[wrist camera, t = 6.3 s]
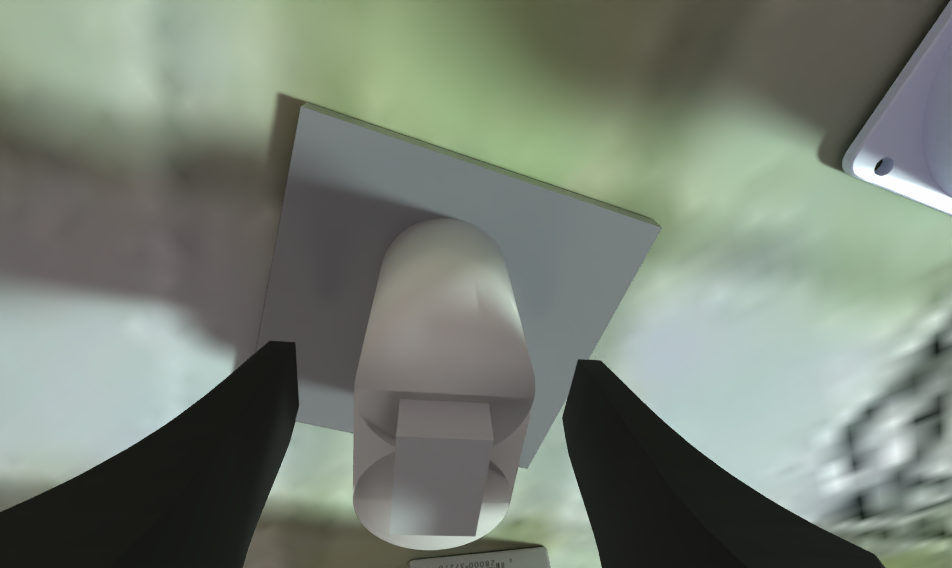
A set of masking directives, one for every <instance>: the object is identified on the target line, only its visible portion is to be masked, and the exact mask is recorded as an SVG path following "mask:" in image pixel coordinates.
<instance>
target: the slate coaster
mask: <svg viewBox="0 0 952 568" xmlns="http://www.w3.org/2000/svg"><path fill="white" fill-rule="evenodd" d="M436 218H452V219H458V220H462V221H466V222H468V223H471V224H473V225H475V226H477V227H479V228H480V229H482V230H483V231H485V232H486V233H487V234H488V235H489V236H490V237H491V238H492V239H493V240H494V241H495V242H496V244H497V245H498V246H499V248H500V250H501V252H502V254H503V257H504V260H505V263H506V267H507V271H508V275H509V279H510V282H511V286H512V290H513V294H514V298H515V302H516V306H517V309H518V313H519V317H520V321H521V325H522V329H523V333H524V336H525V340H526V344H527V348H528V352H529V356H530V360H531V364H532V367H533V371H534V377H535V395H534V401H533V405H532V409H531V414H530V418H529V422H528V427H527V431H526V435H525V440H524V444H523V449H522V453H521V457H520V462H519V466H518V467H521V468H526V469H527V468H528V467H529V465H530V463H531V461H532V459H533V458H534V456H535V454H536V452H537V450H538V449H539V447H540V445H541V443H542V442H543V440H544V438H545V436H546V434H547V433H548V431H549V429H550V427H551V425H552V424H553V422H554V420H555V418H556V416H557V415H558V413H559V411H560V409H561V408H562V406H563V404H564V402H565V400H566V399H567V397H568V395H569V391H570V387H571V383H572V380H573V376H574V372H575V368H576V365H577V361H578V359H583V360H588V359H589V357H590V356H591V354H592V352H593V350H594V348H595V347H596V345H597V343H598V341H599V340H600V338H601V336H602V334H603V332H604V331H605V329H606V327H607V325H608V323H609V322H610V320H611V318H612V316H613V314H614V313H615V311H616V309H617V307H618V306H619V304H620V302H621V300H622V298H623V297H624V295H625V293H626V291H627V289H628V288H629V286H630V284H631V282H632V280H633V279H634V277H635V275H636V273H637V272H638V270H639V268H640V266H641V264H642V263H643V261H644V259H645V257H646V255H647V254H648V252H649V250H650V248H651V246H652V245H653V243H654V241H655V239H656V238H657V236H658V234H659V232H660V230H661V229H662V227H661V226H660V225H659V224H658V223H657V222H656V221H655V220H653V219H650V218H647V217H644V216H641V215H638V214H635V213H632V212H629V211H626V210H623V209H620V208H617V207H614V206H611V205H608V204H605V203H603V202H600V201H597V200H594V199H591V198H588V197H585V196H582V195H579V194H576V193H573V192H570V191H567V190H564V189H561V188H558V187H555V186H552V185H549V184H546V183H543V182H540V181H538V180H535V179H532V178H529V177H526V176H523V175H520V174H517V173H514V172H511V171H508V170H505V169H502V168H499V167H496V166H493V165H490V164H487V163H484V162H481V161H478V160H475V159H472V158H470V157H467V156H464V155H461V154H458V153H455V152H452V151H449V150H446V149H443V148H440V147H437V146H434V145H431V144H428V143H425V142H422V141H419V140H416V139H413V138H410V137H407V136H405V135H402V134H399V133H396V132H393V131H390V130H387V129H384V128H381V127H378V126H375V125H372V124H369V123H366V122H363V121H360V120H357V119H354V118H351V117H348V116H345V115H342V114H340V113H337V112H334V111H331V110H328V109H325V108H322V107H319V106H316V105H313V104H310V103H307V102H306V103H305V104H304V105H302V106H301V108H300V113H299V119H298V124H297V130H296V135H295V141H294V146H293V151H292V157H291V162H290V168H289V173H288V179H287V184H286V189H285V195H284V200H283V206H282V211H281V217H280V222H279V227H278V233H277V238H276V244H275V249H274V255H273V260H272V266H271V271H270V276H269V282H268V287H267V293H266V298H265V304H264V309H263V314H262V320H261V325H260V331H259V336H258V342H257V347H256V352H257V351H258V350H259V349H260V348H262V347H263V346H264V345H265V344H266V343H268V342H269V341H283V342H295V345H296V361H297V377H298V394H299V409H298V413H297V417H296V421H295V422H300V423H305V424H310V425H315V426H320V427H325V428H330V429H334V430H339V431H344V432H349V433H354V385H355V377H356V373H357V369H358V364H359V360H360V356H361V351H362V347H363V343H364V338H365V334H366V330H367V326H368V321H369V317H370V313H371V308H372V304H373V300H374V295H375V291H376V287H377V282H378V278H379V274H380V269H381V265H382V261H383V258H384V255H385V253H386V251H387V249H388V247H389V246H390V244H391V243H392V242H393V240H394V239H395V238H396V237H397V236H398V235H399V234H400V233H401V232H403V231H404V230H406V229H407V228H409V227H411V226H412V225H414V224H416V223H419V222H422V221H425V220H430V219H436ZM256 352H255V353H256Z"/></svg>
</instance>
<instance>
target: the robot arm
mask: <svg viewBox="0 0 952 568" xmlns="http://www.w3.org/2000/svg"><path fill="white" fill-rule="evenodd" d="M881 159H883V162H882V164H881V166H880V167H879V168H878V169H877V170H875V171H874V168H875V166H876V164H877V163H878V162H879V161H880V160H881ZM842 167H843V170H844V172H846V173H847V174H848V175H851V176H853V177H856V178H858V179H861V180H863V181H866V182H868V183H871V184H873V185H876V186H878V187H881V188H883V189H886V190H888V191H891V192H893V193H896V194H898V195H901V196H903V197H906V198H908V199H911V200H913V201H916V202H918V203H921V204H923V205H926V206H928V207H931V208H933V209H936V210H938V211H941V212H943V213H946V214H949V215H951V216H952V0H950V2H949V3H948V5H947V6H946V7H945V9H944V10H943V12H942V13H941V15H940V16H939V18H938V19H937V21H936V22H935V23H934V25H933V26H932V28H931V29H930V31H929V32H928V34H927V35H926V37H925V38H924V39H923V41H922V42H921V44H920V45H919V47H918V48H917V50H916V51H915V53H914V54H913V55H912V57H911V58H910V60H909V61H908V63H907V64H906V66H905V67H904V69H903V70H902V71H901V73H900V74H899V76H898V77H897V79H896V80H895V82H894V83H893V85H892V86H891V87H890V89H889V90H888V92H887V93H886V95H885V96H884V98H883V99H882V101H881V102H880V103H879V105H878V106H877V108H876V109H875V111H874V112H873V114H872V115H871V117H870V118H869V119H868V121H867V122H866V124H865V125H864V127H863V128H862V130H861V131H860V133H859V134H858V135H857V137H856V138H855V140H854V141H853V143H852V144H851V146H850V147H849V149H848V150H847V151H846V153H845V155H844V157H843V161H842ZM298 409H299V394H298V377H297V361H296V345H295V342H283V341H269V342H268V343H266V344H265V345H264V346H263V347H262V348H260V349H259V350H258V351H257V352H256V353H255V354H254V355H252V356H251V357H250V358H249V359H248V360H247V361H246V362H244V363H243V364H242V365H241V366H240V367H239V368H238V369H236V370H235V371H234V372H233V373H232V374H231V375H229V376H228V377H227V378H226V379H225V380H223V381H222V382H221V383H220V384H219V385H217V386H216V387H215V388H214V389H212V390H211V391H210V392H209V393H208V394H206V395H205V396H204V397H203V398H201V399H200V400H199V401H197V402H196V403H195V404H193V405H192V406H191V407H189V408H188V409H187V410H185V411H184V412H183V413H181V414H180V415H179V416H177V417H176V418H174V419H173V420H172V421H170V422H169V423H167V424H166V425H164V426H163V427H161V428H160V429H158V430H157V431H155V432H154V433H152V434H150V435H149V436H147V437H146V438H144V439H142V440H141V441H139V442H138V443H136V444H134V445H133V446H131V447H129V448H128V449H126V450H124V451H122V452H121V453H119V454H117V455H115V456H113V457H112V458H110V459H108V460H106V461H104V462H103V463H101V464H99V465H97V466H95V467H93V468H92V469H90V470H88V471H86V472H84V473H83V474H81V475H79V476H77V477H75V478H73V479H71V480H69V481H67V482H65V483H63V484H61V485H59V486H57V487H55V488H52V489H50V490H48V491H46V492H44V493H42V494H40V495H37V496H35V497H33V498H31V499H29V500H27V501H25V502H22V503H20V504H18V505H15V506H13V507H11V508H9V509H6V510H4V511H2V512H0V568H243V565H244V561H245V558H246V554H247V551H248V548H249V544H250V542H251V539H252V536H253V533H254V530H255V528H256V525H257V522H258V520H259V518H260V515H261V513H262V510H263V508H264V505H265V503H266V500H267V498H268V495H269V493H270V490H271V488H272V486H273V483H274V481H275V478H276V476H277V473H278V471H279V468H280V466H281V463H282V461H283V458H284V456H285V453H286V451H287V448H288V445H289V443H290V439H291V436H292V432H293V428H294V425H295V421H296V417H297V413H298ZM562 419H563V425H564V431H565V438H566V443H567V448H568V453H569V457H570V460H571V463H572V467H573V470H574V473H575V476H576V479H577V483H578V486H579V489H580V492H581V495H582V498H583V501H584V505H585V508H586V511H587V514H588V517H589V520H590V523H591V527H592V530H593V533H594V536H595V540H596V544H597V547H598V551H599V556H600V561H601V565H602V568H885V567H884V565H883V564H882V563H881V562H880V560H879V559H878V558H877V557H876V556H875V554H873V553H871V552H869V551H867V550H865V549H862V548H860V547H858V546H856V545H854V544H852V543H850V542H848V541H846V540H844V539H842V538H840V537H838V536H836V535H834V534H832V533H830V532H828V531H826V530H823V529H821V528H820V527H818V526H816V525H814V524H812V523H810V522H808V521H807V520H805V519H803V518H801V517H799V516H798V515H796V514H794V513H792V512H790V511H789V510H787V509H785V508H783V507H782V506H780V505H778V504H776V503H775V502H773V501H771V500H770V499H768V498H766V497H765V496H763V495H762V494H760V493H758V492H757V491H755V490H754V489H752V488H751V487H749V486H748V485H746V484H745V483H743V482H741V481H740V480H738V479H737V478H735V477H734V476H732V475H731V474H730V473H728V472H727V471H725V470H724V469H722V468H721V467H720V466H718V465H717V464H716V463H714V462H713V461H712V460H710V459H709V458H708V457H706V456H705V455H704V454H702V453H701V452H700V451H698V450H697V449H696V448H694V447H693V446H692V445H691V444H689V443H688V442H687V441H686V440H685V439H683V438H682V437H681V436H680V435H679V434H678V433H676V432H675V431H674V430H673V429H672V428H671V427H669V426H668V425H667V424H666V423H665V422H664V421H663V420H662V419H661V418H659V417H658V416H657V415H656V414H655V413H654V412H653V411H652V410H651V409H650V408H649V407H648V406H647V405H646V404H644V403H643V402H642V401H641V400H640V399H639V398H638V397H637V396H636V395H635V394H634V393H633V392H632V391H631V390H630V389H629V388H628V387H627V386H626V385H625V384H624V383H623V382H622V381H621V380H620V379H619V378H618V377H617V376H616V375H615V374H614V373H613V372H612V371H611V370H610V369H609V368H608V367H607V366H606V365H605V364H604V363H603V362H601V361H600V360H583V359H578V361H577V365H576V368H575V372H574V376H573V380H572V383H571V387H570V391H569V395H568V398H567V402H566V406H565V410H564V413H563V417H562Z"/></svg>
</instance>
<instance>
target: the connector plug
mask: <svg viewBox="0 0 952 568" xmlns="http://www.w3.org/2000/svg"><path fill="white" fill-rule="evenodd" d="M534 395H535V377H534V371H533V367H532V364H531V360H530V356H529V352H528V348H527V344H526V340H525V336H524V333H523V329H522V325H521V321H520V317H519V313H518V309H517V306H516V302H515V298H514V294H513V290H512V286H511V282H510V279H509V275H508V271H507V267H506V263H505V260H504V257H503V254H502V252H501V250H500V248H499V246H498V245H497V244H496V242H495V241H494V240H493V239H492V238H491V237H490V236H489V235H488V234H487V233H486V232H485V231H483V230H482V229H480V228H479V227H477V226H475V225H473V224H471V223H468V222H466V221H462V220H458V219H452V218H436V219H430V220H425V221H422V222H419V223H416V224H414V225H412V226H411V227H409V228H407V229H406V230H404V231H403V232H401V233H400V234H399V235H398V236H397V237H396V238H395V239H394V240H393V242H392V243H391V244H390V246H389V247H388V249H387V251H386V253H385V255H384V258H383V261H382V265H381V269H380V274H379V278H378V282H377V287H376V291H375V295H374V300H373V304H372V308H371V313H370V317H369V321H368V326H367V330H366V334H365V338H364V343H363V347H362V351H361V356H360V360H359V364H358V369H357V373H356V377H355V385H354V450H353V505H354V509H355V512H356V515H357V517H358V518H359V520H360V521H361V523H362V524H363V525H364V526H365V527H366V528H367V529H368V530H369V531H370V532H371V533H373V534H374V535H375V536H377V537H379V538H380V539H382V540H384V541H386V542H388V543H391V544H394V545H397V546H400V547H404V548H409V549H416V550H441V549H449V548H454V547H458V546H462V545H465V544H468V543H470V542H473V541H475V540H477V539H479V538H481V537H483V536H484V535H486V534H487V533H489V532H490V531H491V530H493V529H494V528H495V527H496V526H497V525H498V524H499V523H500V522H501V520H502V519H503V518H504V516H505V514H506V512H507V510H508V508H509V505H510V501H511V496H512V492H513V488H514V483H515V479H516V475H517V470H518V466H519V462H520V457H521V453H522V449H523V444H524V440H525V435H526V431H527V427H528V422H529V418H530V414H531V409H532V405H533V401H534Z"/></svg>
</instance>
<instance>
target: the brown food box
mask: <svg viewBox="0 0 952 568" xmlns="http://www.w3.org/2000/svg"><path fill="white" fill-rule="evenodd" d="M407 568H551V567H550V562H549V557H548V552H547V549H546V548H545V547H537V548H527V549H517V550H507V551H498V552H488V553H479V554H468V555H458V556H447V557H438V558H426V559H416V560H411V561H410V562H409V563H408V564H407Z"/></svg>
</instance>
